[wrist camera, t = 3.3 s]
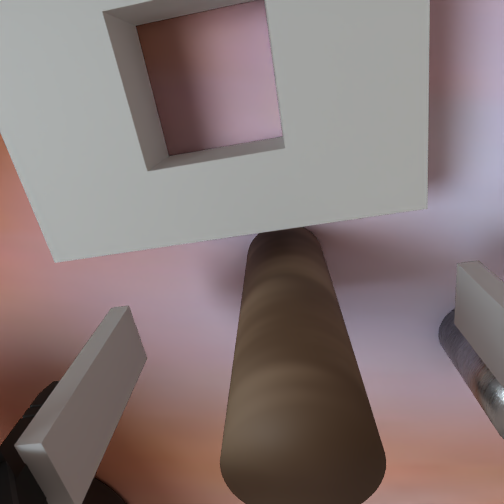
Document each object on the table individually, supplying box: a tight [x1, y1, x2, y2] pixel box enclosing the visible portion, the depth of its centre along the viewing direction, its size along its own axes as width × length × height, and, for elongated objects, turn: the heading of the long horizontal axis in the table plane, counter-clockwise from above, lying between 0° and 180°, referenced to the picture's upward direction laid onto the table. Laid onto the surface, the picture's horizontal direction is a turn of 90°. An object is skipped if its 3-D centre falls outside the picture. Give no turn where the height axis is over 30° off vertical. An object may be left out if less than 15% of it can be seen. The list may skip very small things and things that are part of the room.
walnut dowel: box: [220, 227, 386, 504], centre depth 15 cm, size 4×4×12 cm
